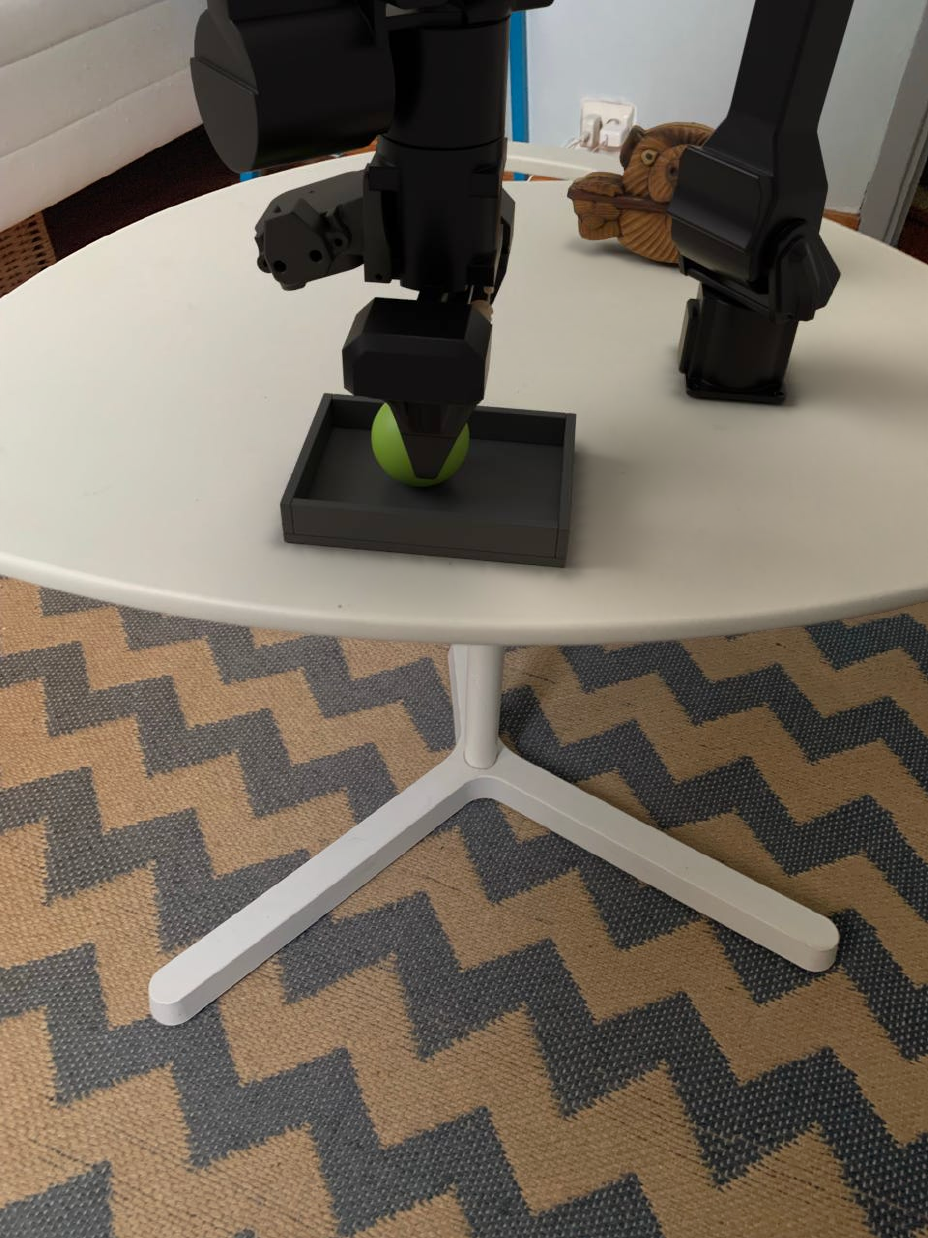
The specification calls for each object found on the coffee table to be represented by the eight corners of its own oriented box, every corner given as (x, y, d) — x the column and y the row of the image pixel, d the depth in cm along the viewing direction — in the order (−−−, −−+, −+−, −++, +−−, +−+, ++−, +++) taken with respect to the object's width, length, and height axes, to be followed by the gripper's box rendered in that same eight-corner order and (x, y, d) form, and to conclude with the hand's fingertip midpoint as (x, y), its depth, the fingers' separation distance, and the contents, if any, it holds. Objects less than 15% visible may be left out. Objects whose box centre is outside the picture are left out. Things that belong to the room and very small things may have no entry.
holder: (572, 449, 64) (576, 412, 62) (565, 567, 55) (570, 529, 54) (326, 429, 65) (323, 392, 63) (283, 542, 56) (279, 503, 55)
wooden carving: (558, 258, 83) (570, 126, 77) (566, 235, 87) (578, 107, 80) (767, 283, 81) (799, 150, 74) (768, 259, 84) (798, 129, 78)
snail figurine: (486, 507, 58) (497, 305, 50) (370, 505, 58) (362, 302, 50) (483, 451, 62) (493, 256, 54) (375, 450, 62) (368, 254, 54)
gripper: (307, 57, 54) (326, 335, 64) (202, 195, 40) (248, 519, 51) (524, 70, 53) (507, 349, 64) (491, 215, 39) (476, 540, 50)
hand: (437, 428), depth 57 cm, fingers open, 9 cm apart
